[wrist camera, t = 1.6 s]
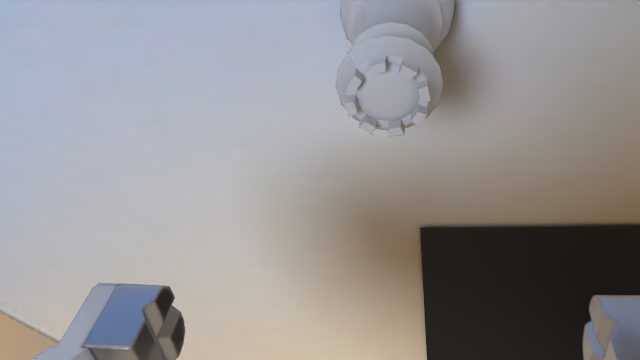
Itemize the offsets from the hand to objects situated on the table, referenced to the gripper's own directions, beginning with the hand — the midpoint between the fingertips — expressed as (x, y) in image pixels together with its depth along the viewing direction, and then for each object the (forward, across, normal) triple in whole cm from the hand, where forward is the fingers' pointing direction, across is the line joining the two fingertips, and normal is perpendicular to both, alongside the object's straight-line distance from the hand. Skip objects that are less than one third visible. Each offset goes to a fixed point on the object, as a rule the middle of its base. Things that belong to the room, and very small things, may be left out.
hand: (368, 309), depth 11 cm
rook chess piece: (+16, 0, 0) cm, 16 cm away
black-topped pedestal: (+16, -14, +26) cm, 33 cm away
